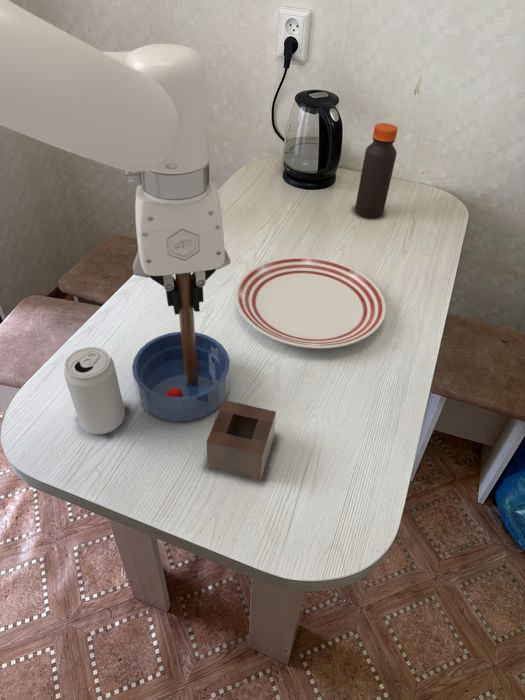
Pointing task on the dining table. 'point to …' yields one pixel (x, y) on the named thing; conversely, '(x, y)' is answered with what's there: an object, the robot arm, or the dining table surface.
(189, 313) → the stirring stick
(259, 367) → the dining table surface
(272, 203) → the dining table surface
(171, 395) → the tomato
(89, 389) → the beverage can
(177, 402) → the bowl
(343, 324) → the dinner plate
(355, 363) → the dining table surface
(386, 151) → the bottle
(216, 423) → the holder
